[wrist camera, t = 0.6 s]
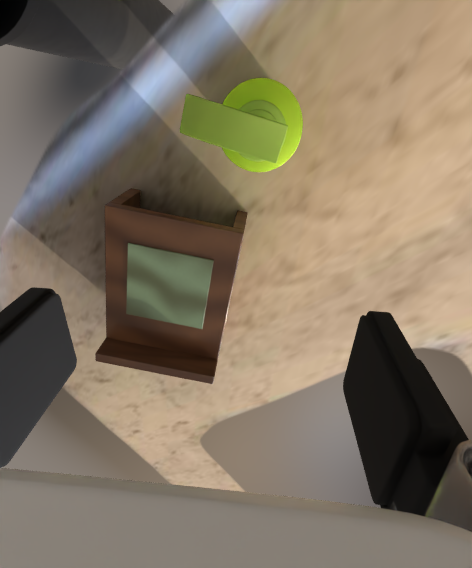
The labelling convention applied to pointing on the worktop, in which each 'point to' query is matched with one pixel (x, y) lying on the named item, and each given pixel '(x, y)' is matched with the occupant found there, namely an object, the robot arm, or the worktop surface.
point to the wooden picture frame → (166, 289)
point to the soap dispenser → (248, 123)
